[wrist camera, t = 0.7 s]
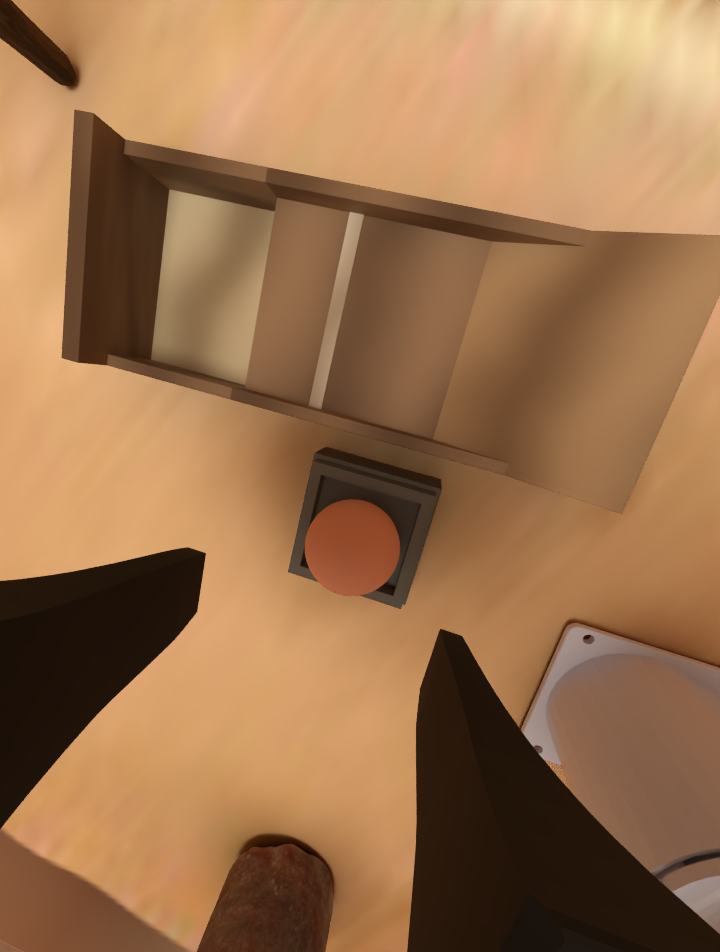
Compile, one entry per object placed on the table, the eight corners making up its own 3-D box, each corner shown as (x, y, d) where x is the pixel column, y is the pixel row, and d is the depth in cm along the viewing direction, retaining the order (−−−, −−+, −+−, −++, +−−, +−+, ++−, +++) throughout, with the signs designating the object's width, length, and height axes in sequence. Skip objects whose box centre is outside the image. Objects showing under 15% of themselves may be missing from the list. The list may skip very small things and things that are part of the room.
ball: (413, 503, 17) (408, 534, 14) (390, 580, 18) (379, 629, 15) (330, 479, 18) (302, 502, 14) (312, 555, 19) (281, 596, 15)
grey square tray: (440, 479, 19) (442, 493, 16) (407, 585, 20) (403, 613, 18) (326, 447, 20) (309, 455, 17) (302, 551, 21) (283, 574, 18)
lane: (668, 281, 16) (759, 238, 11) (583, 487, 18) (632, 517, 14) (158, 176, 18) (74, 109, 14) (139, 365, 21) (61, 358, 16)
